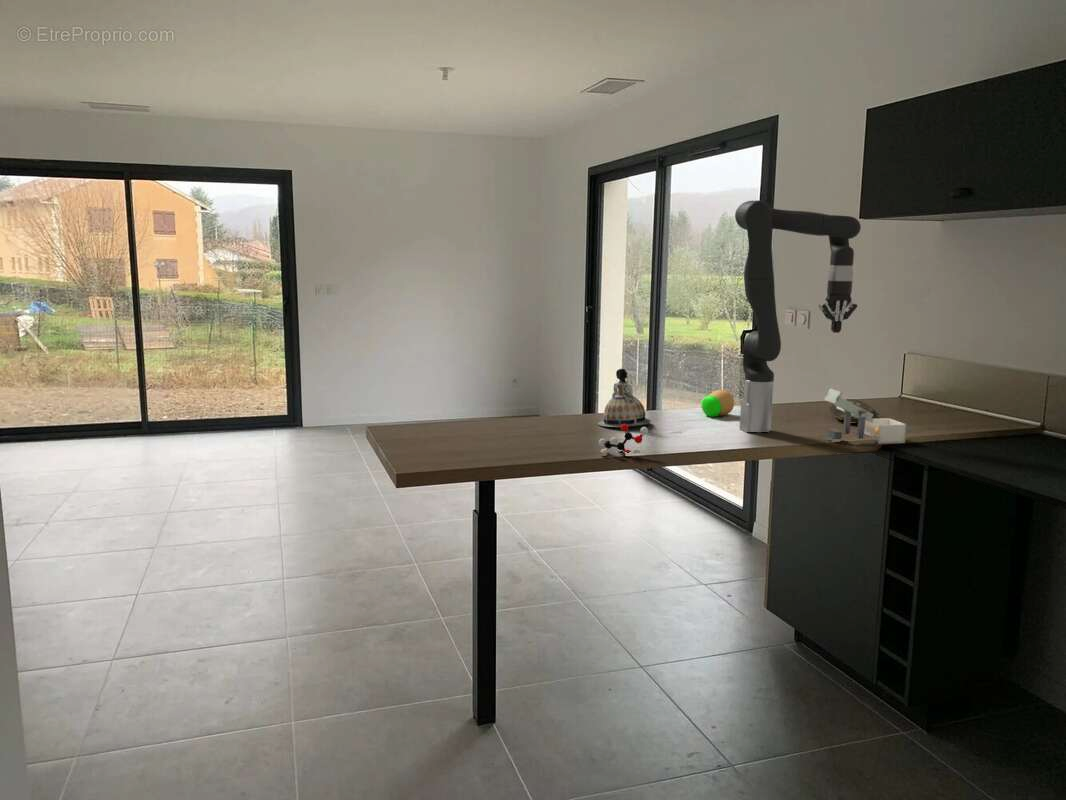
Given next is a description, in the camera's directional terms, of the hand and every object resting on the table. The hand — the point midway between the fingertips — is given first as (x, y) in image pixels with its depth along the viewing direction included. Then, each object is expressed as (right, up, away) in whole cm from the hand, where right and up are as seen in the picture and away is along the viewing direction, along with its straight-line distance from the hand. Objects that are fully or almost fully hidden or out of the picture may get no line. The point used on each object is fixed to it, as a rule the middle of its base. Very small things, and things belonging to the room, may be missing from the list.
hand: (835, 332), depth 260 cm
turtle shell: (+15, -30, +20) cm, 39 cm away
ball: (+11, -33, -7) cm, 35 cm away
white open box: (+12, -35, -7) cm, 38 cm away
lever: (0, -25, -5) cm, 26 cm away
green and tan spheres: (-33, -28, +28) cm, 52 cm away
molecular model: (-74, -39, -27) cm, 88 cm away
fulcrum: (0, -35, -8) cm, 36 cm away
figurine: (-68, -31, +12) cm, 76 cm away
